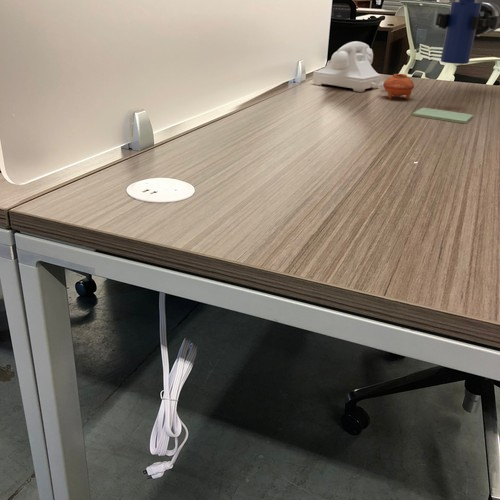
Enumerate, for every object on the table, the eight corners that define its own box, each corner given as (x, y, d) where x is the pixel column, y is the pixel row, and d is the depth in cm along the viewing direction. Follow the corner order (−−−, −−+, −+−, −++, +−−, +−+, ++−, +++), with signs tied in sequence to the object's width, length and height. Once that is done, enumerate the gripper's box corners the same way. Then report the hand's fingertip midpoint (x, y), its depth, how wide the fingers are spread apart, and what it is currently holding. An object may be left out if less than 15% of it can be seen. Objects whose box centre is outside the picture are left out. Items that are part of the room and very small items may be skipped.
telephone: (347, 77, 166) (352, 35, 160) (406, 85, 154) (414, 41, 148) (303, 85, 149) (306, 40, 143) (366, 96, 137) (372, 47, 131)
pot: (415, 96, 138) (419, 71, 134) (407, 107, 133) (410, 82, 129) (387, 91, 141) (390, 67, 137) (377, 102, 136) (380, 78, 132)
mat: (473, 117, 118) (473, 114, 118) (465, 123, 112) (465, 121, 112) (422, 109, 124) (422, 107, 124) (412, 115, 118) (412, 113, 118)
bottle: (471, 62, 123) (488, -17, 115) (464, 64, 119) (482, -18, 111) (444, 59, 126) (459, -18, 118) (437, 61, 122) (452, -18, 114)
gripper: (516, 37, 129) (498, 43, 112) (439, 31, 138) (412, 36, 121) (524, 4, 125) (507, 5, 108) (445, 1, 135) (418, 1, 117)
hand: (457, 22), depth 115 cm, fingers closed on bottle, 6 cm apart
